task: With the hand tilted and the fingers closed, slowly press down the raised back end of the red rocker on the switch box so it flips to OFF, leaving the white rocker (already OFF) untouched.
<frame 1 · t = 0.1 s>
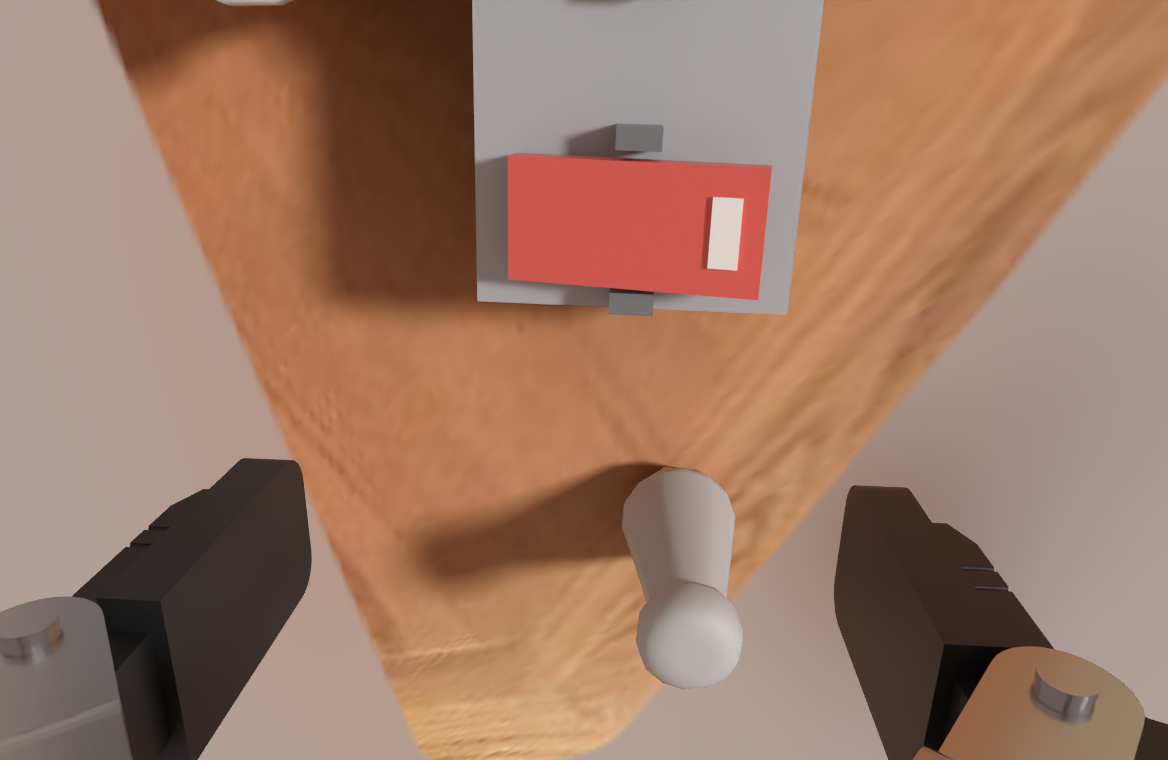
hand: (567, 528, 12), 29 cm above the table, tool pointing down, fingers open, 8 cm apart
salt shaker: (676, 497, 45), on the table
red rocker: (634, 224, 29), point 11 cm above the table, hinge at 10.0°
switch box: (642, 64, 37), on the table
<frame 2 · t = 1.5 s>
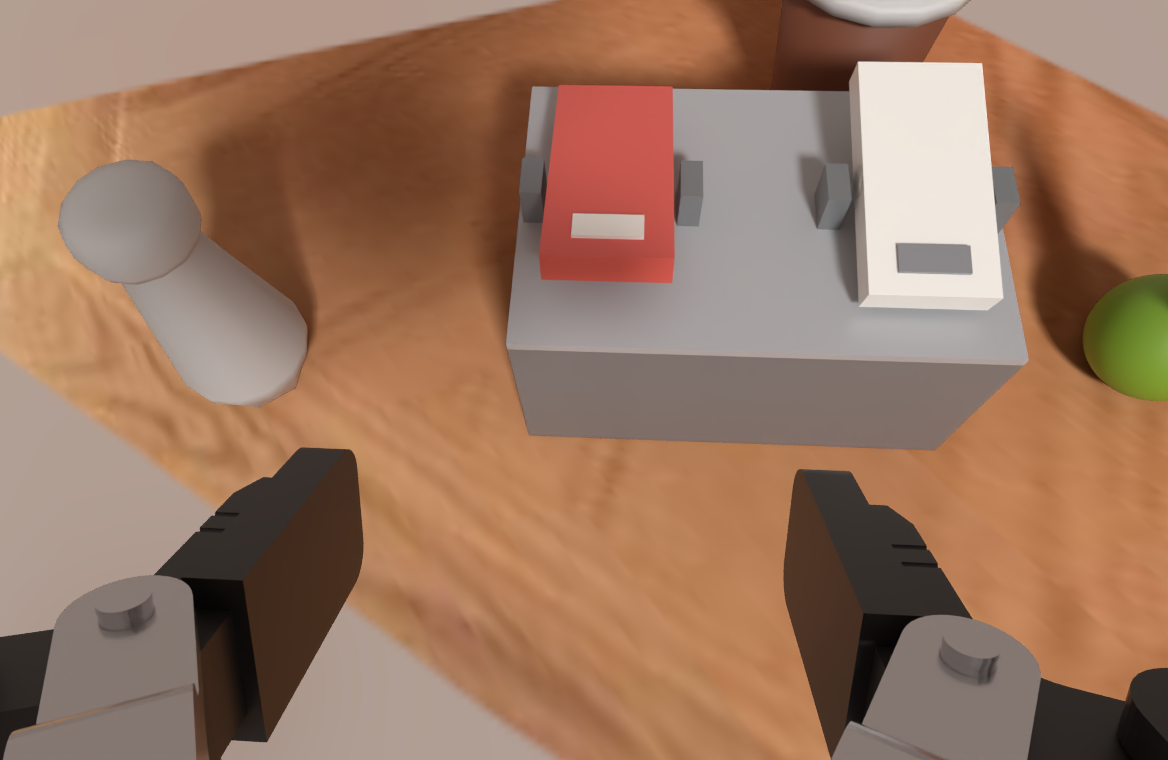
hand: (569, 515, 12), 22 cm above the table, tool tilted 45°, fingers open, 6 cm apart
salt shaker: (264, 368, 39), on the table
red rocker: (611, 175, 29), point 11 cm above the table, hinge at 10.0°
coffee cup: (827, 112, 45), on the table
white rocker: (922, 182, 29), point 11 cm above the table, hinge at -10.0°
switch box: (726, 324, 39), on the table
snail figurine: (1116, 357, 38), on the table
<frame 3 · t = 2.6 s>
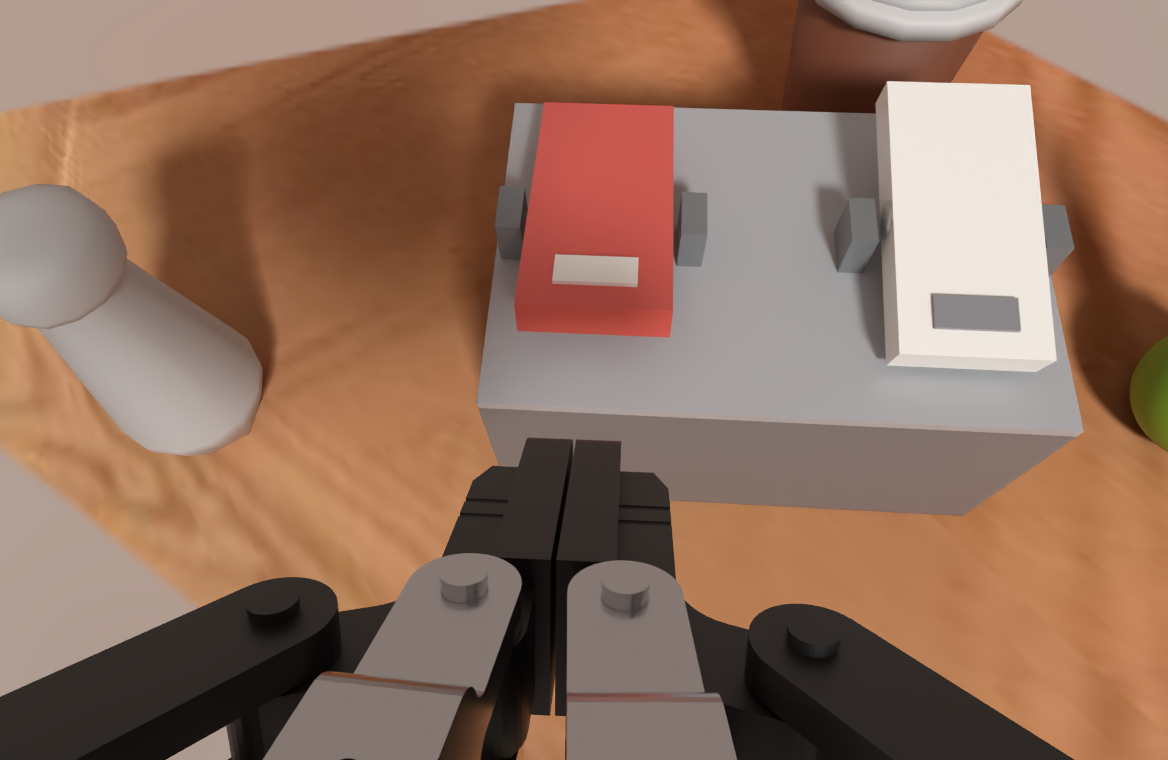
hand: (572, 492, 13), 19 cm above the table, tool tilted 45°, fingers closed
salt shaker: (215, 410, 35), on the table
red rocker: (601, 208, 26), point 11 cm above the table, hinge at 10.0°
coffee cup: (843, 132, 41), on the table
white rocker: (960, 221, 25), point 11 cm above the table, hinge at -10.0°
switch box: (730, 368, 35), on the table
snail figurine: (1165, 411, 34), on the table
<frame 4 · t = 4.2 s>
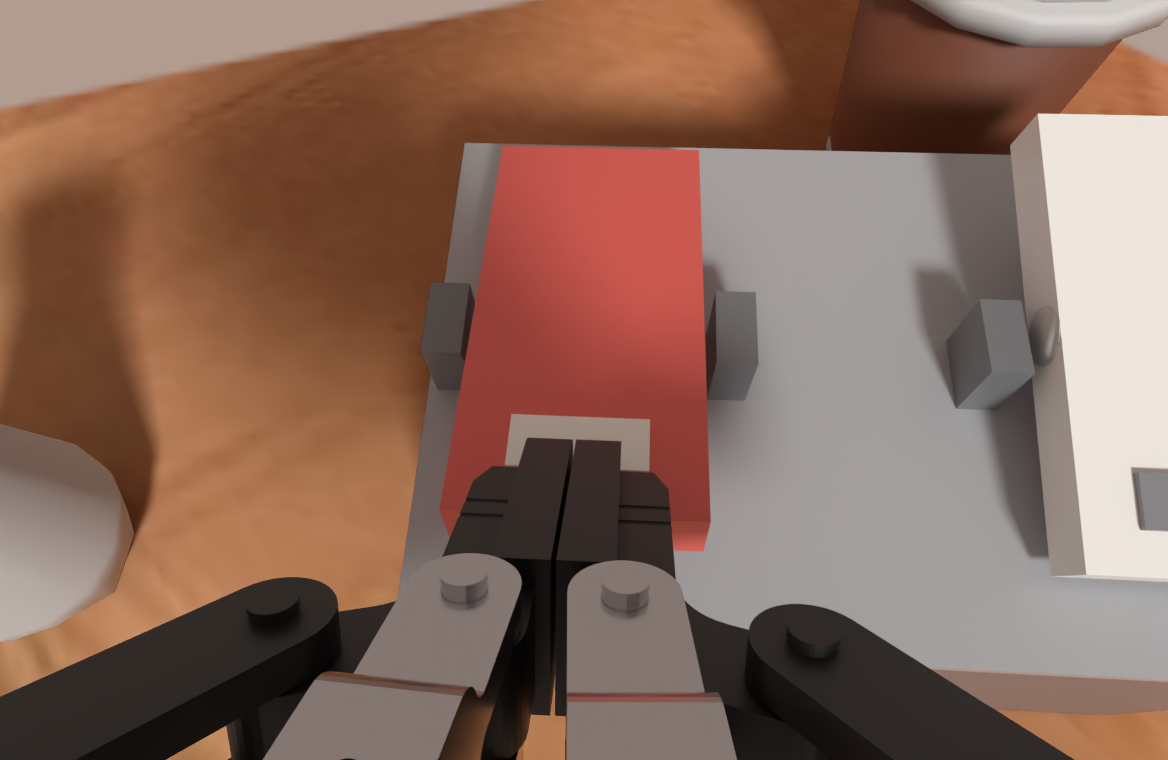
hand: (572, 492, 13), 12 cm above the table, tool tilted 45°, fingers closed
salt shaker: (71, 556, 26), on the table
red rocker: (589, 319, 16), point 11 cm above the table, hinge at 9.8°, touching gripper
coffee cup: (909, 161, 31), on the table
white rocker: (1164, 339, 16), point 11 cm above the table, hinge at -10.0°
switch box: (772, 493, 26), on the table
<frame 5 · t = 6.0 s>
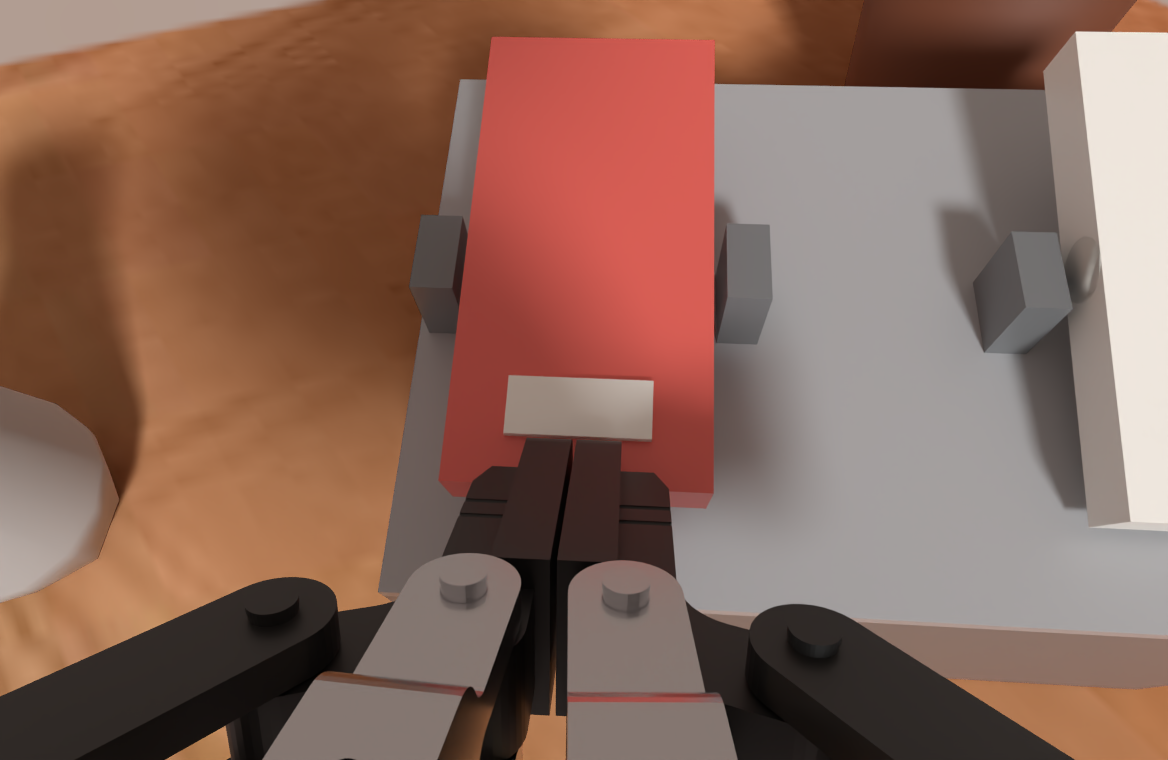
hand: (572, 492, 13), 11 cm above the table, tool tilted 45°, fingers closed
salt shaker: (53, 522, 25), on the table
red rocker: (590, 253, 15), point 11 cm above the table, hinge at -4.3°, touching gripper
coffee cup: (926, 119, 30), on the table
switch box: (783, 459, 25), on the table
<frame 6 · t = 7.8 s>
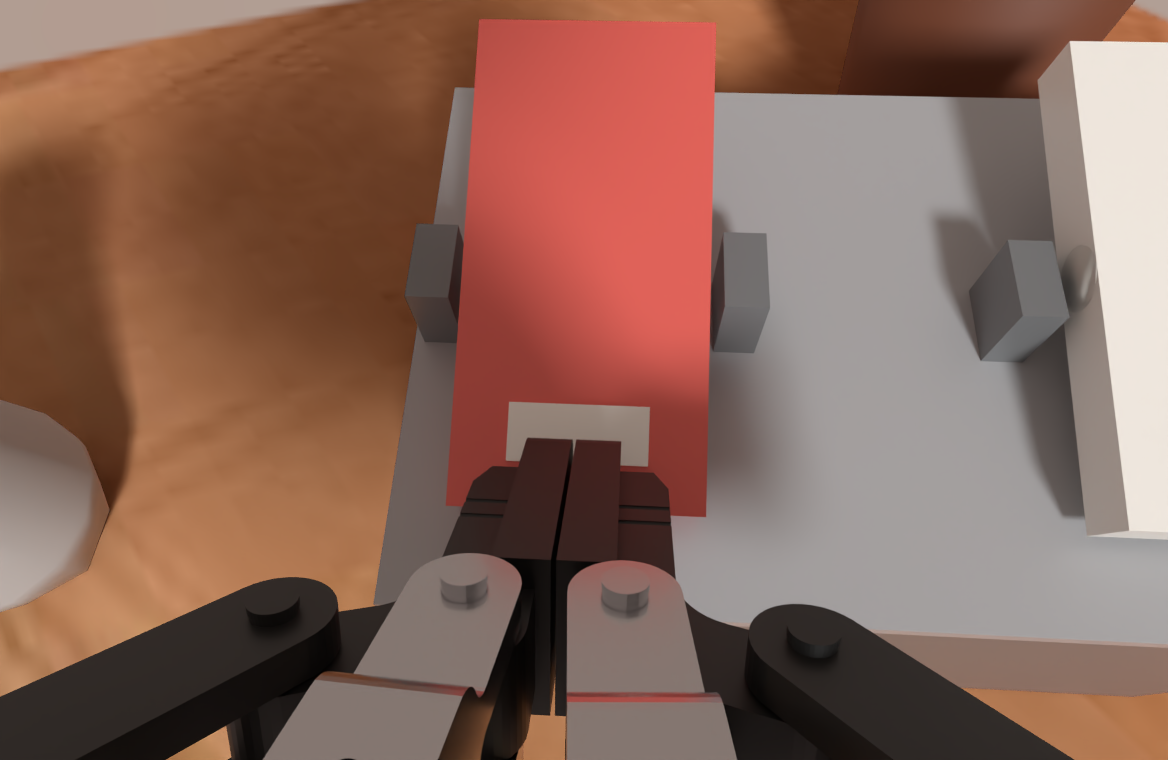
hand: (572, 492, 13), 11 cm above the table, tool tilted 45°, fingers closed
salt shaker: (43, 533, 25), on the table
red rocker: (587, 263, 15), point 11 cm above the table, hinge at -15.9°, touching switch box
coffee cup: (919, 127, 30), on the table
switch box: (778, 467, 25), on the table
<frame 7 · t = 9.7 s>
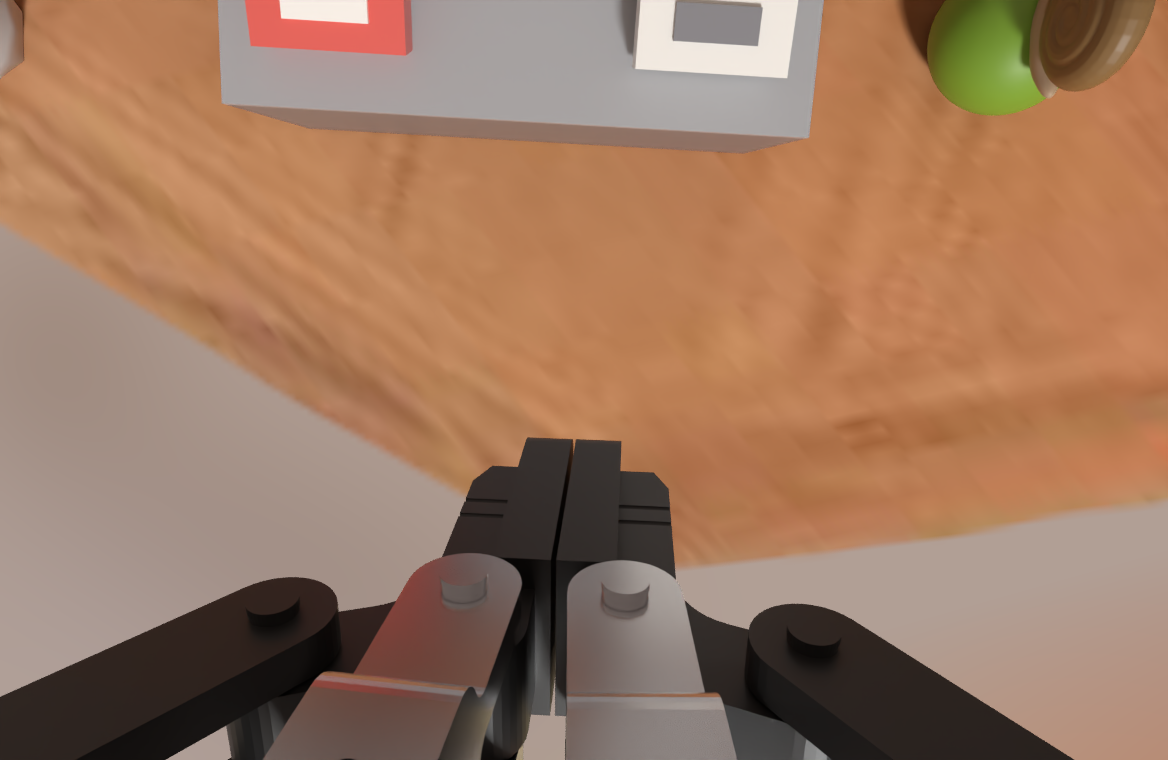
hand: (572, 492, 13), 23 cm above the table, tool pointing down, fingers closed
snail figurine: (968, 41, 34), on the table
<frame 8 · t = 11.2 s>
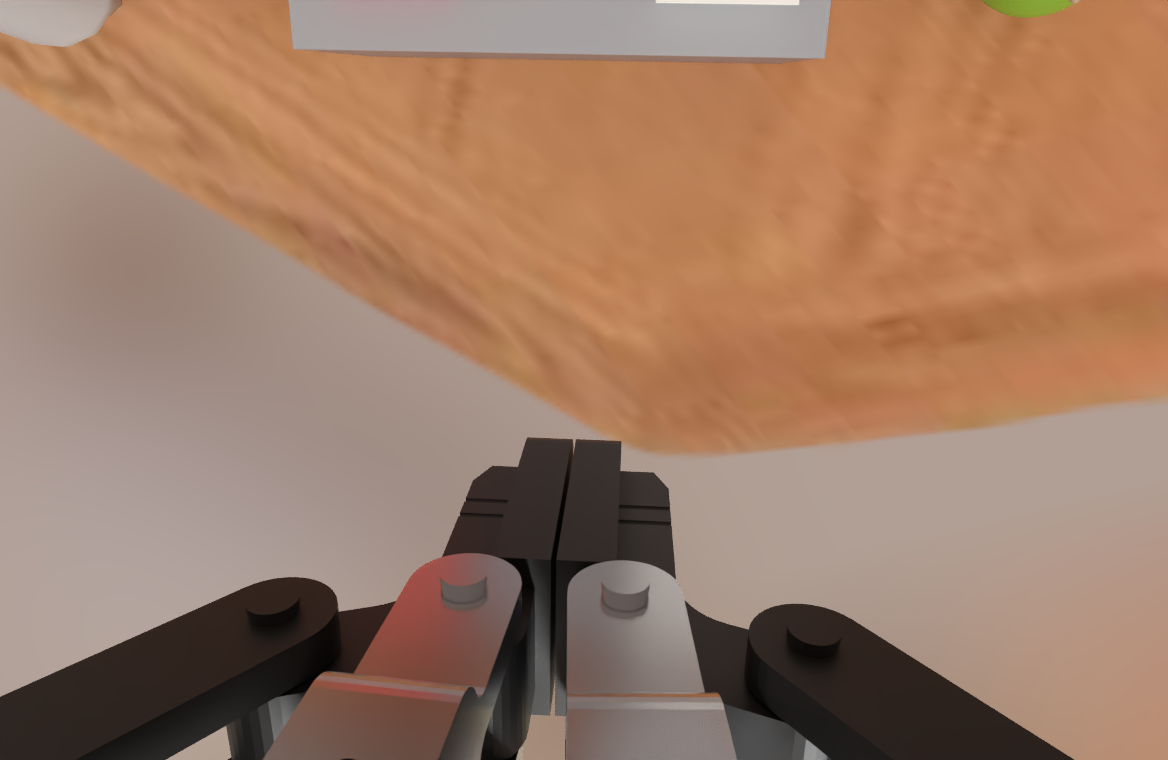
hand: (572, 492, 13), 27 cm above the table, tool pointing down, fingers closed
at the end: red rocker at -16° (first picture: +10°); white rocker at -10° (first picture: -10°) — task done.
